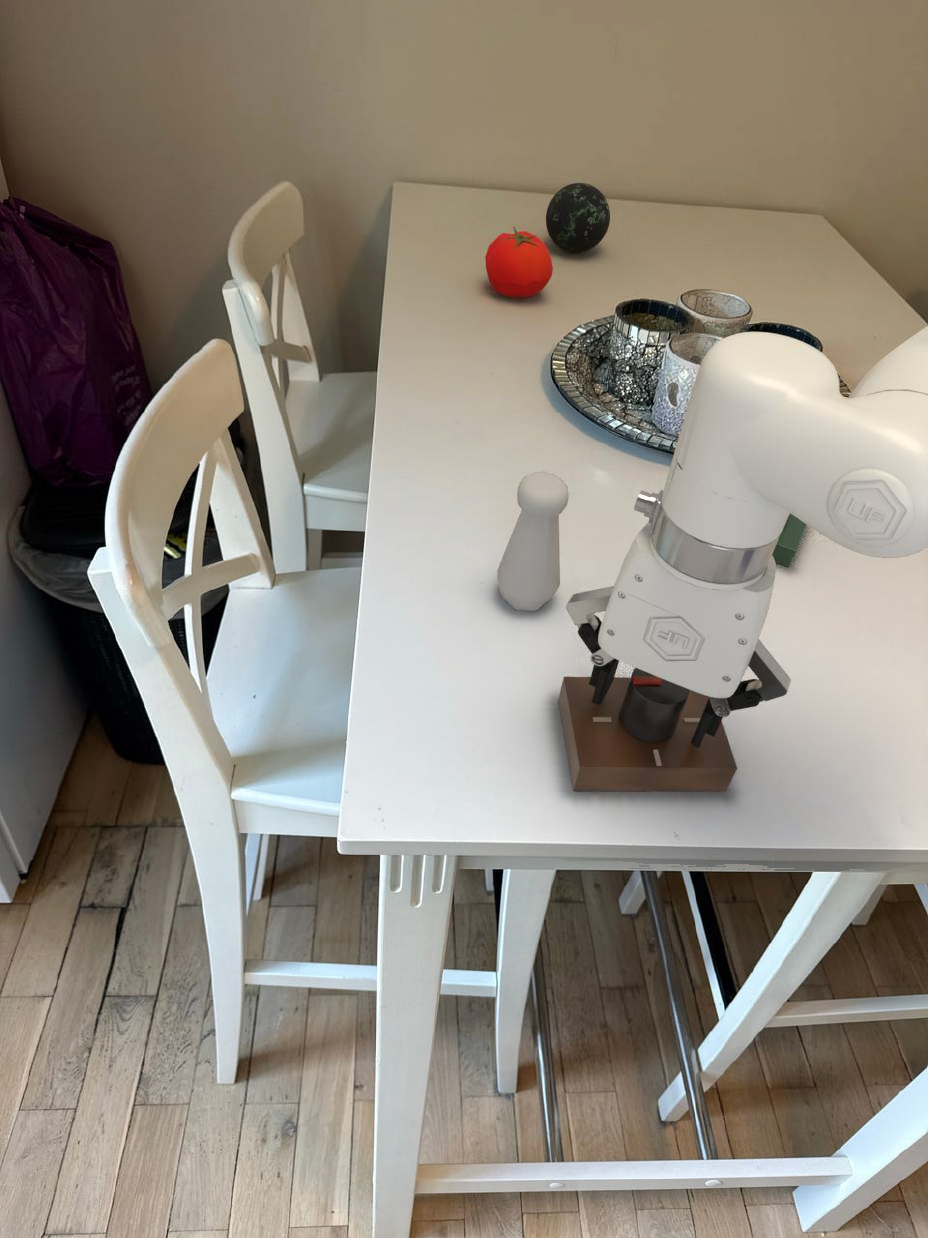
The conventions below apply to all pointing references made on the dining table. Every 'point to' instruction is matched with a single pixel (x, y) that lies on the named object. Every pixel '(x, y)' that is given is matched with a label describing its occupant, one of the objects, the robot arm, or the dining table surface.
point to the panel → (638, 746)
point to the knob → (652, 707)
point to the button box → (788, 541)
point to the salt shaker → (534, 543)
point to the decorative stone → (577, 217)
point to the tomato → (518, 264)
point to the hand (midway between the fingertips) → (650, 711)
